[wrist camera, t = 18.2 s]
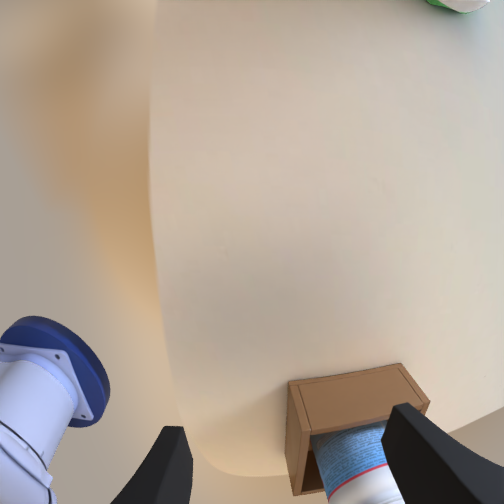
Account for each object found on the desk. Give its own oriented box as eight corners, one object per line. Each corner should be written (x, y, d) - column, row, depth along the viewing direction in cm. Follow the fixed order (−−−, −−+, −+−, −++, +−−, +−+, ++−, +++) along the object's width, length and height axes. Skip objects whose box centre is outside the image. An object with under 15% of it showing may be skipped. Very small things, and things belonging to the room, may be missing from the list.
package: (284, 453, 23) (293, 496, 19) (288, 381, 21) (301, 431, 16) (378, 435, 24) (396, 472, 19) (401, 362, 21) (430, 401, 17)
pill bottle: (293, 436, 22) (321, 552, 11) (331, 385, 21) (384, 512, 10) (351, 442, 23) (390, 540, 12) (389, 395, 22) (450, 497, 11)
